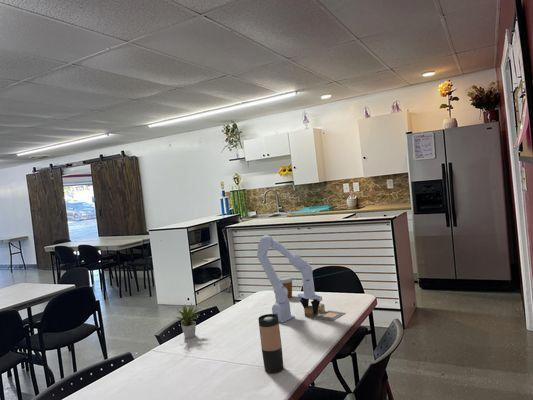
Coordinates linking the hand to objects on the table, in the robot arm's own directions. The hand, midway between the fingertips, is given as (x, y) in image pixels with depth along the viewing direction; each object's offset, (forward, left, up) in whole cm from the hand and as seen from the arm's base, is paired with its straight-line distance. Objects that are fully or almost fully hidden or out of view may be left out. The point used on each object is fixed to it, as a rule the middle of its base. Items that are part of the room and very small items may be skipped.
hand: (311, 313), depth 204 cm
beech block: (+7, 0, -2) cm, 7 cm away
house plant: (-50, +37, -2) cm, 62 cm away
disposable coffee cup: (+21, +35, -2) cm, 41 cm away
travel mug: (-54, -23, -2) cm, 59 cm away
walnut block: (0, 0, -1) cm, 1 cm away
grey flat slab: (+4, -9, -1) cm, 10 cm away
